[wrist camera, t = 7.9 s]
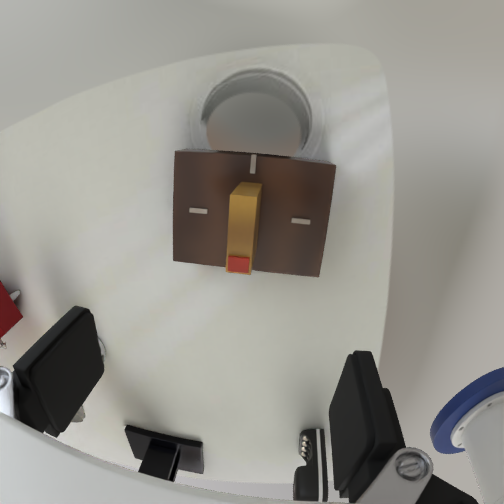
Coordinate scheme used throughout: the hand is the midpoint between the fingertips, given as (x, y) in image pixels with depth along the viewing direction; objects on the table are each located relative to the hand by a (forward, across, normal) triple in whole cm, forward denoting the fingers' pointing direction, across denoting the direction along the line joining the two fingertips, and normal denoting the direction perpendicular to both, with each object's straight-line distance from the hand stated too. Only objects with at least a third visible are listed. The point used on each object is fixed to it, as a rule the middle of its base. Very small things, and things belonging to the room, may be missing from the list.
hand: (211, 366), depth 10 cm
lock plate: (+18, +1, -2) cm, 18 cm away
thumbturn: (+15, +1, -2) cm, 15 cm away
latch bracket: (+18, +11, +38) cm, 43 cm away
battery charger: (+19, -10, +29) cm, 36 cm away
